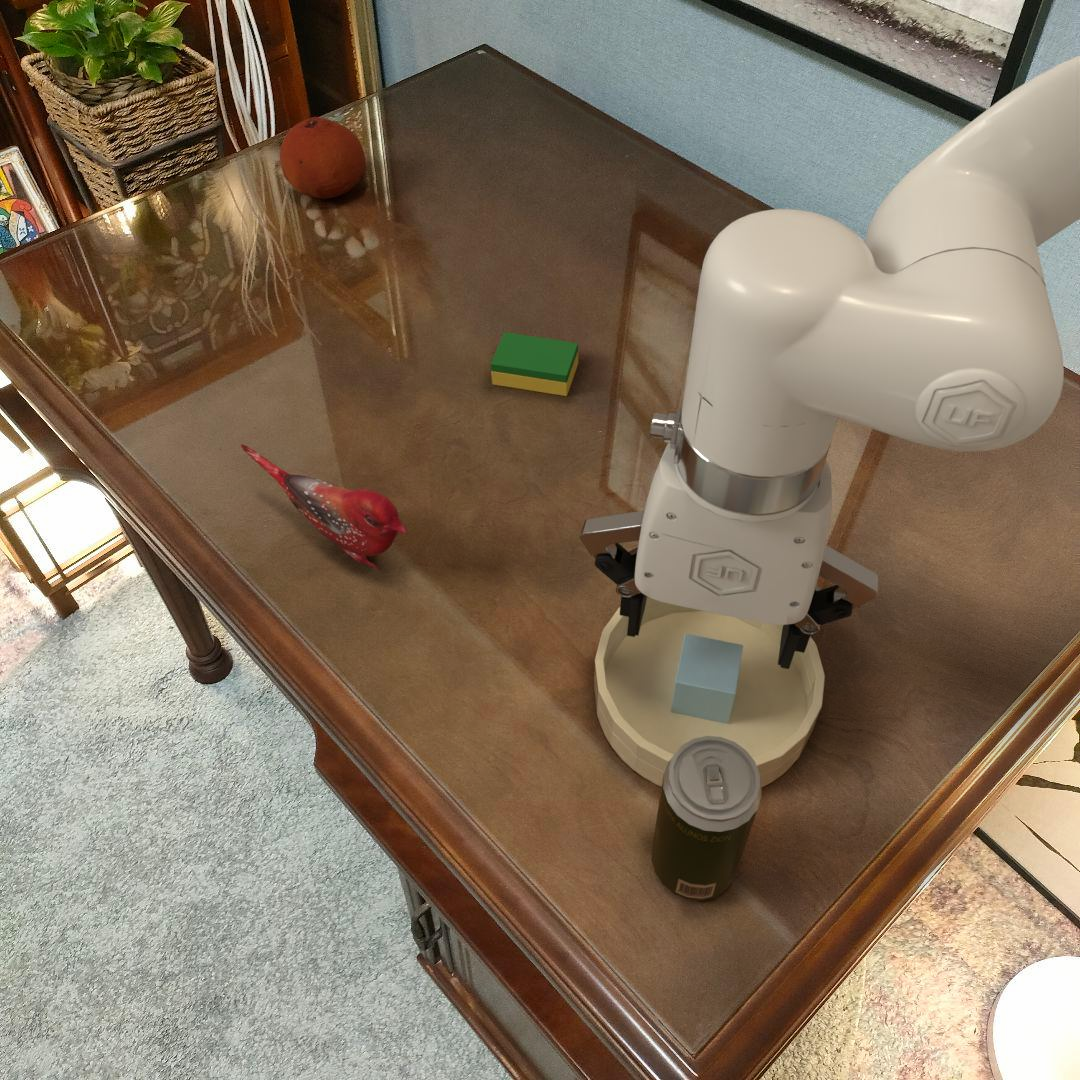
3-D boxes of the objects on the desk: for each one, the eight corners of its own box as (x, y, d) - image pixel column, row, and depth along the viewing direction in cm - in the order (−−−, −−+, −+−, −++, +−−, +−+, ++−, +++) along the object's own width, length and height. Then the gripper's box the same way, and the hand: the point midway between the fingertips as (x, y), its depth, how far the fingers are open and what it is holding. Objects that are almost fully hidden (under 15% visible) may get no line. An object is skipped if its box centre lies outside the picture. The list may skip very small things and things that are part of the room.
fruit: (271, 198, 112) (254, 130, 106) (324, 161, 117) (310, 93, 111) (332, 223, 109) (318, 154, 103) (384, 183, 114) (374, 115, 108)
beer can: (743, 902, 63) (773, 820, 53) (656, 907, 63) (671, 827, 53) (728, 819, 66) (754, 729, 57) (645, 824, 66) (658, 735, 57)
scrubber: (578, 363, 94) (578, 342, 92) (566, 396, 91) (566, 375, 90) (505, 352, 95) (504, 331, 93) (492, 384, 93) (490, 363, 91)
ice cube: (736, 675, 72) (743, 644, 69) (728, 724, 70) (735, 694, 67) (680, 664, 73) (684, 632, 70) (670, 712, 71) (675, 682, 67)
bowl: (821, 631, 75) (832, 599, 72) (802, 821, 66) (813, 794, 63) (618, 592, 78) (620, 559, 75) (573, 769, 68) (573, 741, 65)
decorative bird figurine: (407, 610, 77) (388, 526, 69) (246, 506, 84) (213, 419, 76) (431, 585, 78) (416, 500, 71) (271, 485, 85) (241, 397, 78)
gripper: (569, 470, 51) (565, 654, 65) (922, 535, 49) (842, 713, 62) (601, 373, 56) (591, 563, 69) (925, 427, 53) (850, 614, 67)
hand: (710, 634), depth 66 cm, fingers open, 9 cm apart
